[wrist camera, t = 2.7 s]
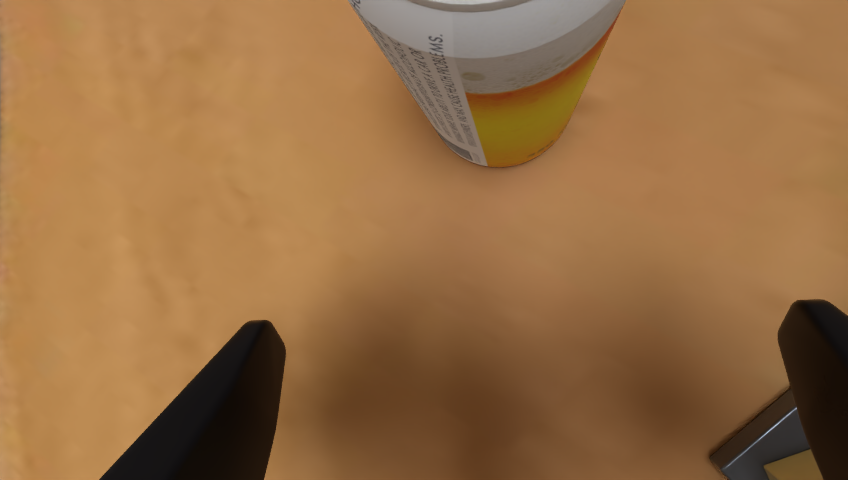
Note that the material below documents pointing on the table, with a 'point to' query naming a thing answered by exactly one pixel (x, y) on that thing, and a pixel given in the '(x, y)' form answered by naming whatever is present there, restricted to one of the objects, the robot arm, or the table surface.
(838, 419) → the robot arm
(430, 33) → the beer can
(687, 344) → the table surface
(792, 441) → the cheese
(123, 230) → the table surface
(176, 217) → the table surface
